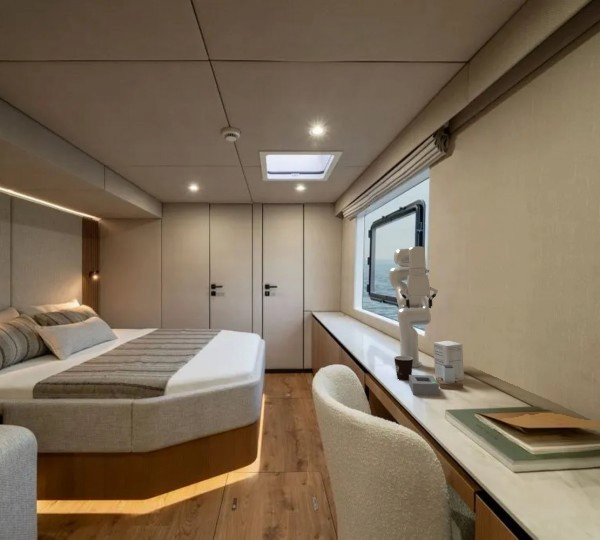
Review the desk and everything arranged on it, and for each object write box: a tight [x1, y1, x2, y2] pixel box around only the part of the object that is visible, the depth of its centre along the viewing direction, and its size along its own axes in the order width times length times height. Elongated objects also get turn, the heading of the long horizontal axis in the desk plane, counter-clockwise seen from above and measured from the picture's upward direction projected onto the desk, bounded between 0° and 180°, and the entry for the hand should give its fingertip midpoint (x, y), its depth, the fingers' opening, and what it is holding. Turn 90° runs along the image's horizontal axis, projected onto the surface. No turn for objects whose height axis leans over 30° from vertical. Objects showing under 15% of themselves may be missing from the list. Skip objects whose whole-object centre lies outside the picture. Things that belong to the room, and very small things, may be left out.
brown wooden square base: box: [435, 376, 464, 390], centre depth 141 cm, size 9×9×2 cm
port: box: [408, 374, 440, 397], centre depth 136 cm, size 12×10×5 cm
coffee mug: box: [394, 355, 413, 381], centre depth 155 cm, size 12×9×10 cm
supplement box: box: [433, 340, 465, 381], centre depth 153 cm, size 10×9×17 cm
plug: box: [442, 365, 455, 383], centre depth 142 cm, size 4×4×9 cm
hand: (419, 308), depth 153 cm, fingers open, 9 cm apart
